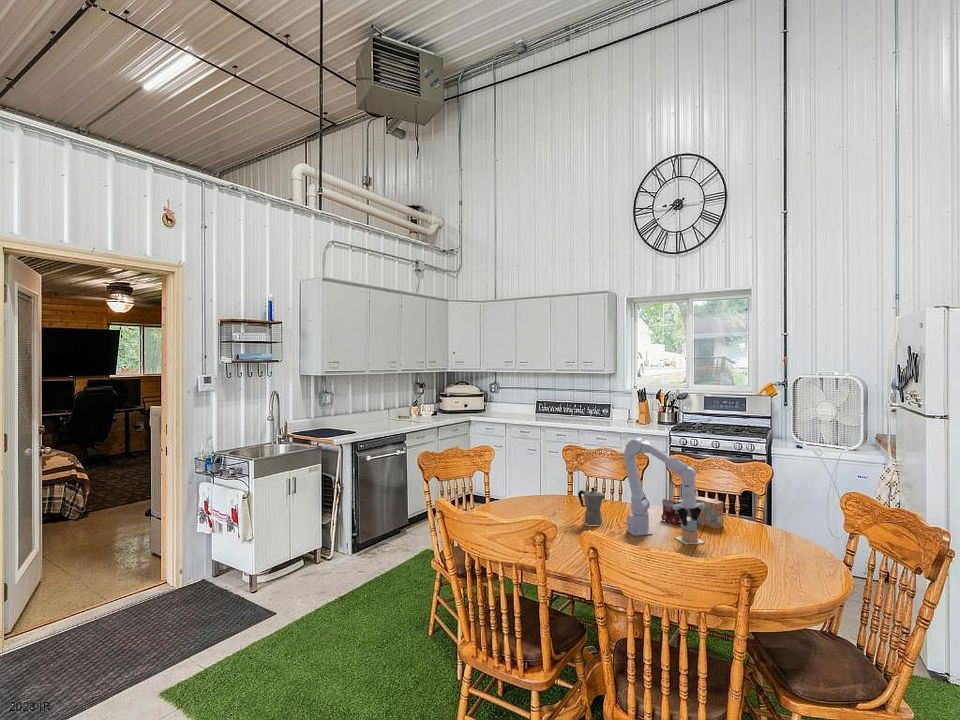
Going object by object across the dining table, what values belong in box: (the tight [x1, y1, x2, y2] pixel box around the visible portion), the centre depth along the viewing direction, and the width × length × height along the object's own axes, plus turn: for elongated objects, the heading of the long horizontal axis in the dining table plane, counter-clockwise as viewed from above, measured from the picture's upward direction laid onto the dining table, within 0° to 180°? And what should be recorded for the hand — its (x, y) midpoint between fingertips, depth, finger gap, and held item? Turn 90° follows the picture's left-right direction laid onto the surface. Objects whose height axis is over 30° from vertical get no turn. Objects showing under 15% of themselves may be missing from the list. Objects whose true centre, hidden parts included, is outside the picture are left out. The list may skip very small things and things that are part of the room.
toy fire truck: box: [661, 498, 681, 525], centre depth 252 cm, size 7×12×10 cm, turn 34°
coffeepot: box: [577, 487, 606, 525], centre depth 251 cm, size 15×9×18 cm, turn 44°
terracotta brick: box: [681, 527, 699, 542], centre depth 224 cm, size 4×6×4 cm, turn 10°
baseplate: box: [674, 536, 706, 546], centre depth 224 cm, size 9×9×1 cm
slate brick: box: [680, 517, 698, 532], centre depth 225 cm, size 4×6×4 cm, turn 10°
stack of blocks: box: [676, 496, 724, 530], centre depth 251 cm, size 21×6×12 cm, turn 37°
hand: (689, 525), depth 224 cm, fingers closed on slate brick, 4 cm apart
